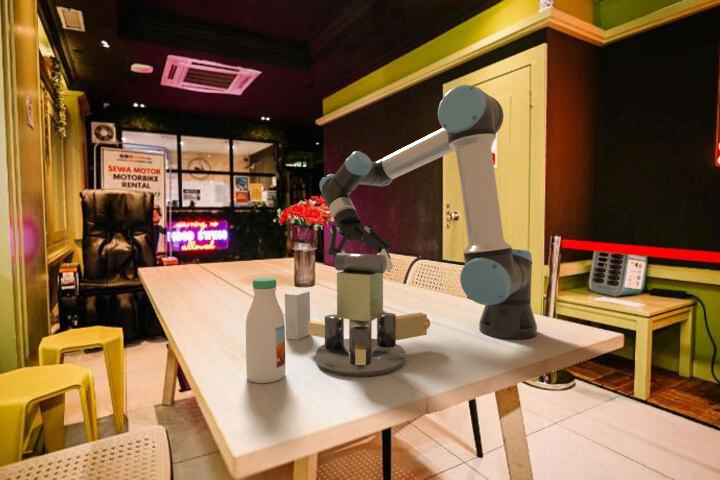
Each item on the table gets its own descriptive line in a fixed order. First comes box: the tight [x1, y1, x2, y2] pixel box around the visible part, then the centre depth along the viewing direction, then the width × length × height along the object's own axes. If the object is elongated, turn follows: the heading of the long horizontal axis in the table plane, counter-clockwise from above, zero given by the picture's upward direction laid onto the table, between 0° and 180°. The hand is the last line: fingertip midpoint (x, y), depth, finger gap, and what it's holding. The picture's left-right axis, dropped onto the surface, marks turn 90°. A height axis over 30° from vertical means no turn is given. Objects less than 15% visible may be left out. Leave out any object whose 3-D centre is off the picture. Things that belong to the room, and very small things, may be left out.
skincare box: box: [284, 289, 311, 341], centre depth 113 cm, size 6×4×12 cm
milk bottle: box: [245, 277, 286, 384], centre depth 85 cm, size 8×8×20 cm
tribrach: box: [308, 252, 406, 378], centre depth 94 cm, size 24×23×24 cm
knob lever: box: [376, 312, 431, 348], centre depth 101 cm, size 15×4×7 cm, turn 120°
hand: (370, 270), depth 118 cm, fingers open, 13 cm apart
